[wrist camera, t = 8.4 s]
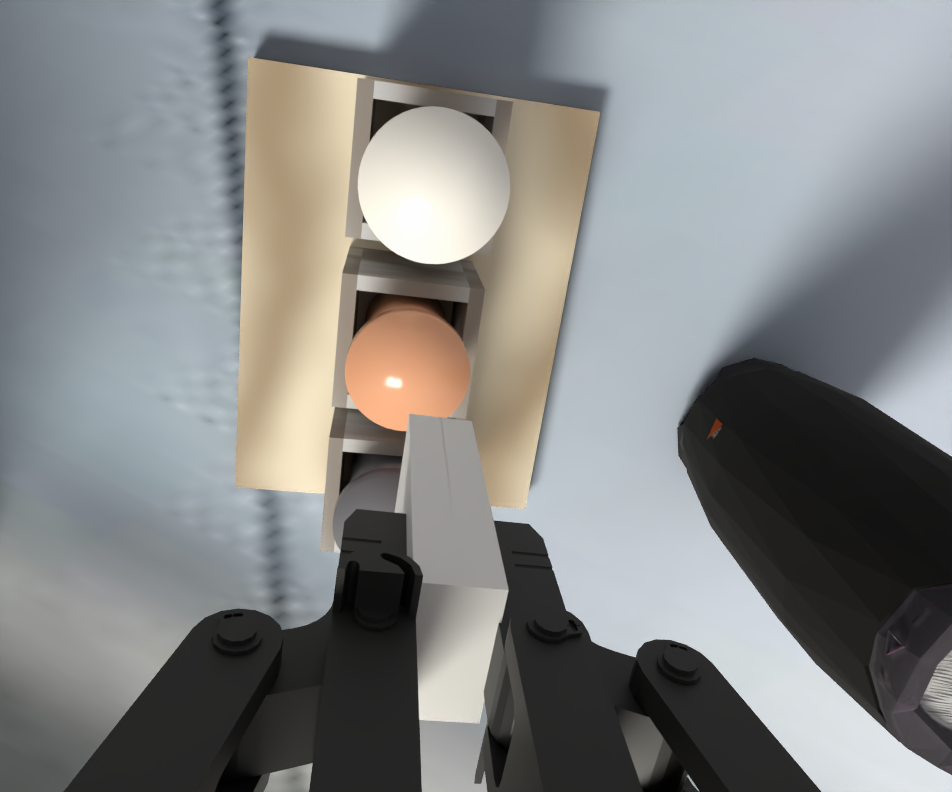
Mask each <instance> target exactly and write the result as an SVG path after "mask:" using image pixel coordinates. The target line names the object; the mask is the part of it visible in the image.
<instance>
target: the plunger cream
mask: <svg viewBox="0 0 952 792" xmlns="http://www.w3.org/2000/svg"><path fill="white" fill-rule="evenodd" d="M358 196H359V201H360V206H361V209H362V212H363V215H364V217H365V219H366V221H367V223H368V225H369V227H370V228H371V230H372V231H373V233H374V234H375V235H376V237H377V238H378V239H379V240H380V241H381V242H382V243H383V244H384V245H385V246H387V247H388V248H389V249H390V250H392V251H393V252H395V253H396V254H398V255H400V256H402V257H404V258H406V259H409V260H412V261H415V262H420V263H425V264H445V263H450V262H455V261H457V260H460V259H463V258H465V257H467V256H469V255H471V254H473V253H474V252H476V251H477V250H479V249H480V248H481V247H483V246H484V245H485V244H486V243H487V242H488V241H489V240H490V239H491V238H492V236H493V235H494V234H495V233H496V231H497V230H498V228H499V227H500V225H501V223H502V221H503V219H504V216H505V213H506V211H507V207H508V203H509V198H510V175H509V169H508V165H507V162H506V159H505V156H504V154H503V152H502V149H501V148H500V146H499V144H498V143H497V141H496V139H495V138H494V137H493V136H492V134H491V133H490V132H489V131H488V130H487V129H486V128H485V127H484V126H483V125H482V124H480V123H479V122H478V121H476V120H475V119H474V118H472V117H470V116H468V115H466V114H464V113H462V112H459V111H456V110H453V109H449V108H445V107H436V106H429V107H420V108H415V109H411V110H408V111H405V112H403V113H401V114H399V115H397V116H395V117H394V118H392V119H391V120H389V121H388V122H387V123H385V124H384V125H383V126H382V127H381V128H380V129H379V130H378V131H377V133H376V134H375V135H374V136H373V138H372V139H371V141H370V143H369V144H368V146H367V148H366V150H365V153H364V155H363V157H362V160H361V164H360V167H359V174H358Z"/></svg>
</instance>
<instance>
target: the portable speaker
mask: <svg viewBox="0 0 952 792" xmlns="http://www.w3.org/2000/svg"><path fill="white" fill-rule="evenodd" d="M677 429H678V453H679V457H680V459H681V460H682V462H683V464H684V465H685V467H686V468H687V473H688V475H689V478H690V480H691V482H692V484H693V487H694V489H695V491H696V494H697V496H698V498H699V500H700V503H701V505H702V507H703V509H704V512H705V514H706V516H707V519H708V521H709V523H710V525H711V527H712V529H713V530H714V531H715V533H716V534H717V535H718V537H719V538H720V540H721V541H722V542H723V544H724V545H725V546H726V548H727V549H728V551H729V552H730V553H731V555H732V556H733V557H734V559H735V560H736V562H737V563H738V564H739V566H740V567H741V568H742V570H743V571H744V572H745V574H746V575H747V577H748V578H749V579H750V581H751V582H752V583H753V585H754V586H755V588H756V589H757V590H758V592H759V593H760V594H761V596H762V597H763V599H764V600H765V601H766V603H767V604H768V605H769V607H770V608H771V609H772V611H773V612H774V614H775V615H776V616H777V618H778V619H779V620H780V621H781V622H782V624H783V625H784V626H785V627H786V628H787V630H788V631H789V632H790V633H791V634H792V636H793V637H794V638H795V639H796V640H797V642H798V643H799V644H800V645H801V646H802V648H803V649H804V650H805V651H806V652H807V654H808V655H809V656H810V657H811V658H812V660H813V661H814V662H815V663H816V664H817V665H818V666H819V667H820V668H821V669H822V670H823V671H824V672H825V673H826V674H827V675H828V676H830V677H831V678H832V679H833V680H834V681H835V682H836V683H837V684H838V685H839V686H840V687H841V688H842V689H843V690H844V691H846V692H847V693H848V694H849V695H850V696H851V697H852V698H853V699H854V700H855V701H856V702H857V703H858V704H859V705H860V706H862V707H863V708H864V709H865V710H866V711H867V712H868V713H869V714H870V715H871V716H872V717H873V718H874V719H875V720H876V721H878V722H879V723H880V724H881V725H882V726H883V727H884V728H885V729H886V730H887V731H888V732H889V733H890V734H891V735H892V736H894V737H895V738H896V739H897V740H898V741H899V742H901V743H902V744H903V745H904V746H905V747H906V748H908V749H909V750H911V751H912V752H914V753H916V754H917V755H919V756H920V757H922V758H923V759H925V760H927V761H928V762H930V763H931V764H933V765H935V766H936V767H938V768H940V769H942V770H944V771H945V772H947V773H949V774H951V775H952V457H951V456H950V455H948V454H947V453H945V452H943V451H942V450H940V449H939V448H937V447H936V446H934V445H933V444H931V443H930V442H928V441H927V440H925V439H923V438H922V437H920V436H919V435H917V434H916V433H914V432H913V431H911V430H910V429H908V428H906V427H905V426H903V425H902V424H900V423H899V422H897V421H896V420H894V419H893V418H891V417H890V416H888V415H886V414H885V413H883V412H882V411H880V410H879V409H877V408H876V407H874V406H873V405H871V404H870V403H868V402H866V401H865V400H863V399H861V398H859V397H856V396H854V395H852V394H850V393H847V392H845V391H843V390H840V389H838V388H836V387H833V386H831V385H829V384H826V383H824V382H822V381H819V380H817V379H815V378H812V377H810V376H808V375H805V374H803V373H801V372H797V371H792V370H791V369H789V368H787V367H785V366H783V365H781V364H777V363H772V362H768V361H764V360H759V359H755V358H753V359H750V360H746V361H743V362H740V363H737V364H734V365H731V366H727V367H724V368H722V370H721V372H720V374H719V376H718V378H717V379H716V381H715V382H714V383H713V384H712V385H711V386H710V387H709V388H708V389H707V390H706V391H705V392H704V393H703V394H702V395H701V396H700V397H699V398H698V399H697V400H696V402H695V404H694V405H693V407H692V409H691V411H690V413H689V414H688V416H687V418H686V420H685V422H684V423H683V424H682V425H681V426H680V427H678V428H677Z"/></svg>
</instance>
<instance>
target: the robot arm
mask: <svg viewBox="0 0 952 792" xmlns="http://www.w3.org/2000/svg"><path fill="white" fill-rule="evenodd" d="M484 699H485V706H486V713H487V725H486V729H485V734H484V738H483V743H482V747H481V751H480V756H479V760H478V765H477V769H476V775H475V783H477V784H481V782H482V778H483V773H484V771H485V775H486V783H487V791H488V792H821V791H820V790H819V788H818V787H817V786H816V785H815V784H814V783H813V781H812V780H811V779H810V778H809V777H808V775H807V774H806V773H805V772H804V771H803V770H802V768H801V767H800V766H799V765H798V764H797V763H796V761H795V760H794V759H793V758H792V757H791V755H790V754H789V753H788V752H787V751H786V750H785V748H784V747H783V746H782V745H781V744H780V743H779V741H778V740H777V739H776V738H775V737H774V735H773V734H772V733H771V732H770V731H769V730H768V728H767V727H766V726H765V725H764V724H763V722H762V721H761V720H760V719H759V718H758V717H757V715H756V714H755V713H754V712H753V711H752V710H751V708H750V707H749V706H748V705H747V704H746V702H745V701H744V700H743V699H742V698H741V697H740V695H739V694H738V693H737V692H736V691H735V690H734V688H733V687H732V686H731V685H730V684H729V682H728V681H727V680H726V679H725V678H724V677H723V675H722V674H721V673H720V672H719V671H718V669H717V668H716V667H715V666H714V665H713V664H712V663H711V662H710V661H709V660H708V659H707V658H706V657H705V656H704V655H702V654H701V653H700V652H698V651H696V650H694V649H693V648H691V647H689V646H687V645H685V644H682V643H678V642H675V641H672V640H657V639H656V640H653V641H649V642H646V643H644V644H643V645H642V646H641V647H640V648H639V650H638V652H637V655H636V658H635V657H632V656H628V655H625V654H622V653H618V652H615V651H612V650H609V649H606V648H604V647H601V646H599V645H597V644H595V643H593V642H592V641H591V639H590V636H589V633H588V631H587V629H586V628H585V626H584V624H583V623H582V622H581V621H580V620H579V619H578V618H577V617H575V616H574V615H573V614H572V613H570V612H568V611H566V609H565V606H564V603H563V599H562V596H561V593H560V590H559V587H558V584H557V581H556V578H555V574H554V571H553V570H552V565H551V562H550V559H549V558H548V553H547V549H546V546H545V543H544V540H543V538H542V537H541V536H540V535H539V534H538V533H537V532H536V531H535V530H534V529H533V528H532V527H531V526H530V525H529V524H523V523H513V522H503V521H494V520H493V516H492V511H491V507H490V502H489V497H488V493H487V488H486V484H485V479H484V474H483V470H482V465H481V461H480V456H479V451H478V447H477V442H476V438H475V433H474V428H473V424H472V421H467V420H458V419H450V418H442V417H433V416H425V415H416V414H409V418H408V425H407V432H406V438H405V445H404V452H403V459H402V465H401V472H400V479H399V485H398V492H397V499H396V505H395V512H384V511H374V510H364V509H356V510H355V511H354V512H353V513H352V514H351V515H350V516H349V517H348V518H347V519H346V520H345V521H344V528H343V536H342V543H341V551H340V559H339V566H338V568H337V577H336V585H335V593H334V601H333V604H332V607H331V608H330V610H329V611H328V612H327V613H326V615H324V616H323V617H321V618H320V619H319V620H317V621H315V622H313V623H311V624H308V625H306V626H302V627H297V628H293V629H286V630H281V627H280V625H279V624H278V623H277V622H276V621H275V620H274V619H273V618H271V617H270V616H268V615H266V614H263V613H261V612H258V611H256V610H246V609H233V610H226V611H220V612H218V613H215V614H213V615H210V616H208V617H206V618H204V619H203V620H202V621H201V622H199V623H198V624H197V625H196V626H195V627H194V628H193V629H192V630H191V631H190V633H189V634H188V635H187V636H186V638H185V639H184V640H183V642H182V643H181V644H180V645H179V647H178V648H177V649H176V650H175V652H174V653H173V654H172V655H171V657H170V658H169V659H168V660H167V662H166V663H165V664H164V666H163V667H162V668H161V669H160V671H159V672H158V673H157V674H156V676H155V677H154V678H153V679H152V681H151V682H150V683H149V684H148V686H147V687H146V688H145V690H144V691H143V692H142V693H141V695H140V696H139V697H138V698H137V700H136V701H135V702H134V703H133V705H132V706H131V707H130V708H129V710H128V711H127V712H126V714H125V715H124V716H123V717H122V719H121V720H120V721H119V722H118V724H117V725H116V726H115V727H114V729H113V730H112V731H111V732H110V734H109V735H108V736H107V738H106V739H105V740H104V741H103V743H102V744H101V745H100V746H99V748H98V749H97V750H96V751H95V753H94V754H93V755H92V756H91V758H90V759H89V760H88V762H87V763H86V764H85V765H84V767H83V768H82V769H81V770H80V772H79V773H78V774H77V775H76V777H75V778H74V779H73V780H72V782H71V783H70V784H69V786H68V787H67V788H66V789H65V791H64V792H263V791H264V789H265V787H266V785H267V783H268V779H269V775H270V773H272V772H276V771H280V770H284V769H289V768H293V767H297V766H301V765H305V764H310V763H313V766H312V774H311V782H310V790H309V792H422V788H421V758H420V728H419V720H431V721H448V722H465V723H479V722H480V718H481V713H482V709H483V704H484ZM687 775H689V776H690V778H691V779H692V781H693V782H694V784H695V785H696V786H697V788H698V789H699V791H698V790H697V789H696V788H695V787H694V786H693V785H692V783H691V782H690V780H689V779H688V777H687Z"/></svg>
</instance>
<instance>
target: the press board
mask: <svg viewBox="0 0 952 792" xmlns="http://www.w3.org/2000/svg"><path fill="white" fill-rule="evenodd" d="M429 106H436V107H445V108H449V109H453V110H456V111H459V112H462V113H464V114H466V115H468V116H470V117H472V118H474V119H475V120H476V121H478V122H479V123H480V124H482V125H483V126H484V127H485V128H486V129H487V130H488V131H489V132H490V133H491V134H492V136H493V137H494V138H495V139H496V141H497V143H498V144H499V146H500V148H501V149H502V152H503V154H504V156H505V159H506V162H507V165H508V169H509V175H510V198H509V203H508V207H507V211H506V213H505V216H504V219H503V221H502V223H501V225H500V227H499V228H498V230H497V231H496V233H495V234H494V235H493V236H492V238H491V239H490V240H489V241H488V242H487V243H486V244H485V245H484V246H483V247H481V248H480V249H479V250H477V251H476V252H474V253H473V254H471V255H469V256H467V257H465V258H463V259H460V260H457V261H455V262H450V263H445V264H425V263H420V262H415V261H412V260H409V259H406V258H404V257H402V256H400V255H398V254H396V253H395V252H393V251H392V250H390V249H389V248H388V247H387V246H385V245H384V244H383V243H382V242H381V241H380V240H379V239H378V238H377V237H376V235H375V234H374V233H373V231H372V230H371V228H370V227H369V225H368V223H367V221H366V219H365V217H364V215H363V212H362V209H361V206H360V201H359V196H358V174H359V167H360V164H361V160H362V157H363V155H364V153H365V150H366V148H367V146H368V144H369V143H370V141H371V139H372V138H373V136H374V135H375V134H376V133H377V131H378V130H379V129H380V128H381V127H382V126H383V125H384V124H385V123H387V122H388V121H389V120H391V119H392V118H394V117H395V116H397V115H399V114H401V113H403V112H405V111H408V110H411V109H415V108H420V107H429ZM599 117H600V112H598V111H592V110H585V109H579V108H573V107H566V106H560V105H553V104H547V103H540V102H534V101H528V100H521V99H515V98H508V97H502V96H495V95H489V94H483V93H476V92H470V91H463V90H457V89H450V88H444V87H437V86H431V85H425V84H418V83H412V82H405V81H399V80H392V79H386V78H380V77H373V76H367V75H360V74H354V73H347V72H341V71H335V70H328V69H322V68H315V67H309V66H302V65H296V64H290V63H283V62H277V61H270V60H264V59H257V58H251V57H248V84H247V117H246V150H245V183H244V216H243V249H242V283H241V316H240V349H239V382H238V415H237V448H236V482H235V487H241V488H254V489H268V490H281V491H295V492H308V493H321V494H325V496H324V509H323V522H322V535H321V547H320V551H326V552H340V549H339V548H338V546H337V544H336V542H335V539H334V536H333V529H332V527H333V516H334V509H335V505H336V502H337V499H338V497H339V495H340V493H341V492H342V490H343V489H344V488H345V487H346V486H347V485H348V484H349V483H350V475H351V467H352V458H353V452H355V453H367V454H379V455H391V456H403V452H404V445H405V438H406V432H407V431H398V430H392V429H389V428H385V427H383V426H380V425H378V424H376V423H375V422H373V421H371V420H370V419H368V418H367V417H366V416H365V415H364V414H363V413H361V412H360V411H359V409H358V408H357V407H356V406H355V404H354V402H353V401H352V399H351V397H350V395H349V393H348V390H347V386H346V381H345V364H346V358H347V353H348V350H349V346H350V344H351V342H352V340H353V338H354V336H355V335H356V333H357V332H358V331H359V330H360V328H361V327H362V326H363V325H364V324H365V317H366V312H367V309H368V306H369V304H370V302H371V301H372V299H373V298H374V297H375V296H376V295H377V294H378V293H386V294H395V295H404V296H413V297H421V298H430V299H438V300H439V302H440V303H441V305H442V308H443V310H444V314H445V318H446V321H447V322H448V323H449V324H450V325H451V326H452V327H453V328H454V329H455V330H456V331H457V333H458V334H459V336H460V337H461V339H462V341H463V343H464V345H465V348H466V351H467V355H468V359H469V364H470V381H469V386H468V389H467V392H466V395H465V397H464V399H463V401H462V402H461V404H460V405H459V406H458V408H457V409H456V410H455V411H454V412H453V413H452V414H451V415H450V416H449V417H448V418H450V419H458V420H467V421H472V424H473V428H474V433H475V438H476V442H477V447H478V451H479V456H480V461H481V465H482V470H483V474H484V479H485V484H486V488H487V493H488V497H489V502H490V506H496V507H509V508H523V509H525V508H526V502H527V497H528V492H529V487H530V481H531V476H532V471H533V466H534V460H535V455H536V450H537V444H538V439H539V434H540V429H541V423H542V418H543V413H544V407H545V402H546V397H547V392H548V386H549V381H550V376H551V370H552V365H553V360H554V355H555V349H556V344H557V339H558V334H559V328H560V323H561V318H562V312H563V307H564V302H565V297H566V291H567V286H568V281H569V275H570V270H571V265H572V260H573V254H574V249H575V244H576V238H577V233H578V228H579V223H580V217H581V212H582V207H583V202H584V196H585V191H586V186H587V180H588V175H589V170H590V165H591V159H592V154H593V149H594V143H595V138H596V133H597V128H598V122H599Z"/></svg>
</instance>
